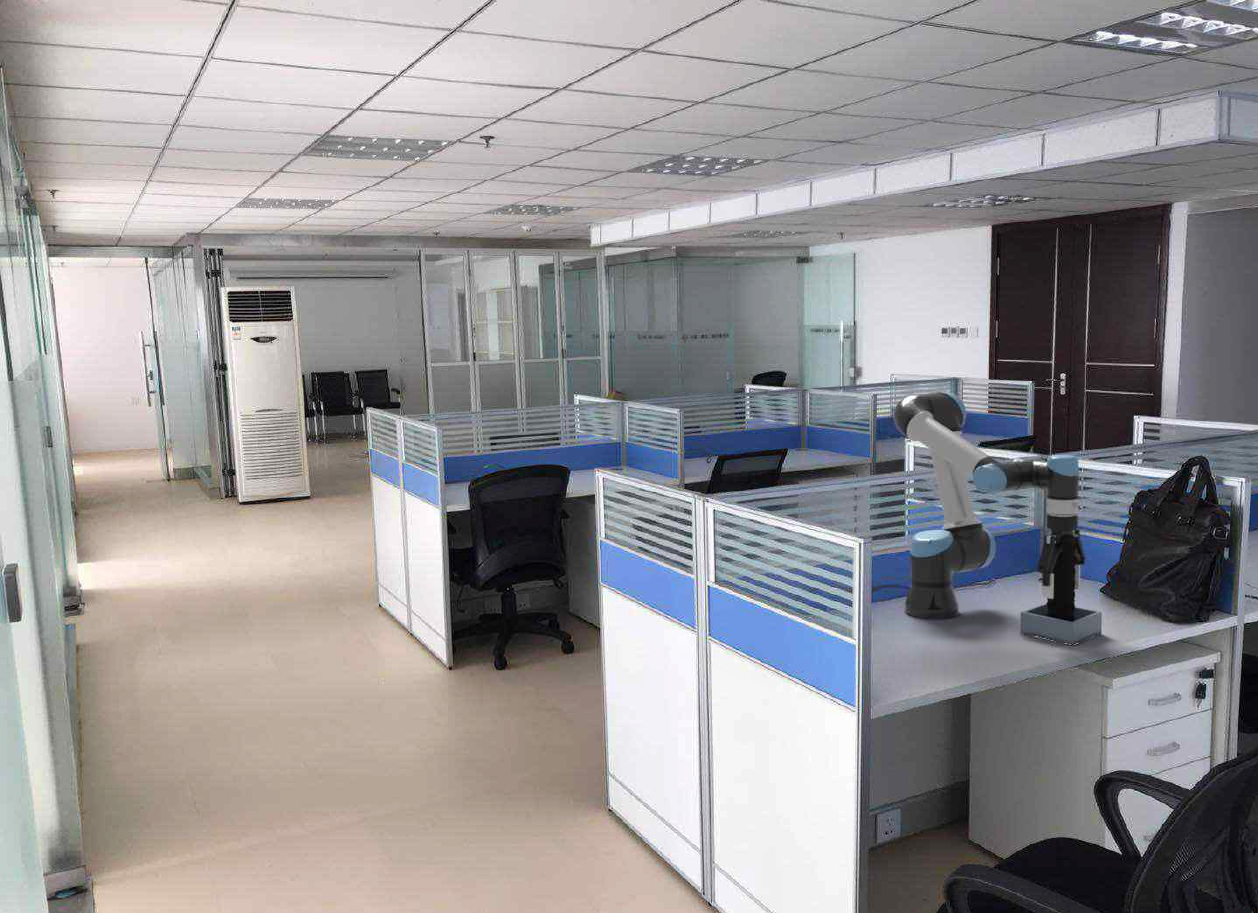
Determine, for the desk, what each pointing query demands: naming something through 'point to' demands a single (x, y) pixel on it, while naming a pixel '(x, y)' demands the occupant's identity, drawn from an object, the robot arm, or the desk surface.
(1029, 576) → the desk surface
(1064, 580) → the handle grip
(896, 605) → the desk surface
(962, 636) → the desk surface
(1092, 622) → the box
